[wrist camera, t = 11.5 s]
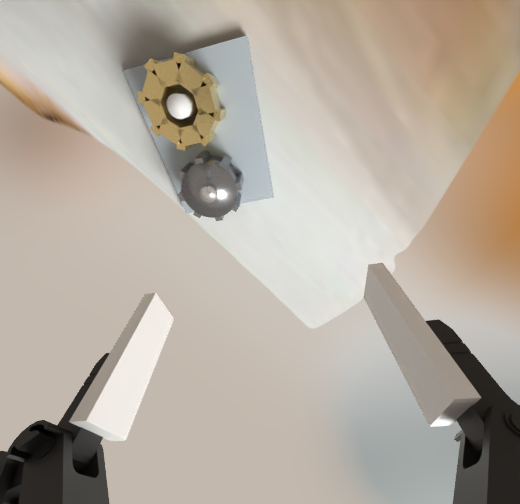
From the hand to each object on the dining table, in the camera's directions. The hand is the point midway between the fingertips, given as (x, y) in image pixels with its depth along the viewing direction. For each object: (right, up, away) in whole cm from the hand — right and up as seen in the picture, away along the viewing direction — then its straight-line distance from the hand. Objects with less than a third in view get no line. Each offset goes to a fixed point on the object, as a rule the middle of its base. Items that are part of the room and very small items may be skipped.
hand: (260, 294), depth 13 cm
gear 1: (-9, +23, +15) cm, 29 cm away
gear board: (-7, +20, +19) cm, 28 cm away
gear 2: (-7, +14, +21) cm, 27 cm away
